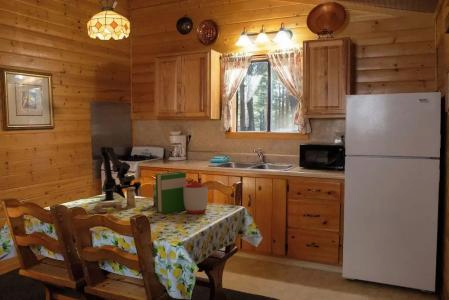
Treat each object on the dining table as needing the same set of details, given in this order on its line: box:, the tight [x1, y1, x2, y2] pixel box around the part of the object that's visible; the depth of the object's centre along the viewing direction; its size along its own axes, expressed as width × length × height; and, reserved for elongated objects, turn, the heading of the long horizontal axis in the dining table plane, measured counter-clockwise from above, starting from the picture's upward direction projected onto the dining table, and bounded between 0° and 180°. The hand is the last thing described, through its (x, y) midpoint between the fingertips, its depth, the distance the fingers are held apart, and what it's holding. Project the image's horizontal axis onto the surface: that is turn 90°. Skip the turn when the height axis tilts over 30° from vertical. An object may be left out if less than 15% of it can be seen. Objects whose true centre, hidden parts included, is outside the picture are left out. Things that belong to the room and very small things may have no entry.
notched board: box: [95, 200, 123, 212], centre depth 259 cm, size 16×16×2 cm
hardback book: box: [155, 171, 187, 215], centre depth 244 cm, size 18×7×24 cm, turn 128°
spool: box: [125, 187, 137, 209], centre depth 257 cm, size 6×6×13 cm
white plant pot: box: [183, 180, 210, 215], centre depth 241 cm, size 16×17×20 cm
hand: (131, 197), depth 256 cm, fingers open, 9 cm apart
